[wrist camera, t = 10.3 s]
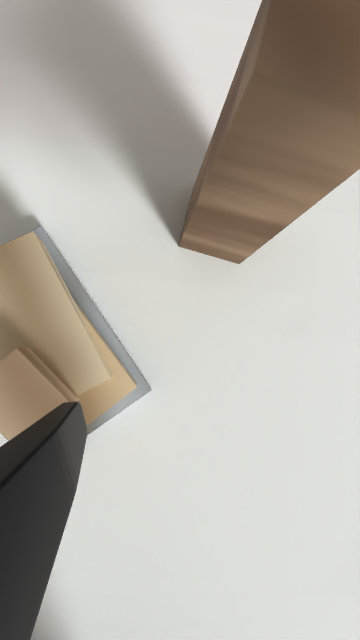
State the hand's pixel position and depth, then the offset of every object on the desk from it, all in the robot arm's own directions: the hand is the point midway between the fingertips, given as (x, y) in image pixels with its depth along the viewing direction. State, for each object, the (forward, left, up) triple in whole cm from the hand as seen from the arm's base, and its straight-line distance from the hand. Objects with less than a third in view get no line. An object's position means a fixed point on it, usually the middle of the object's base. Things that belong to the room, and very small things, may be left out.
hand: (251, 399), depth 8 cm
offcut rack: (-6, +6, -11) cm, 14 cm away
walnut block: (+7, +6, -11) cm, 15 cm away
